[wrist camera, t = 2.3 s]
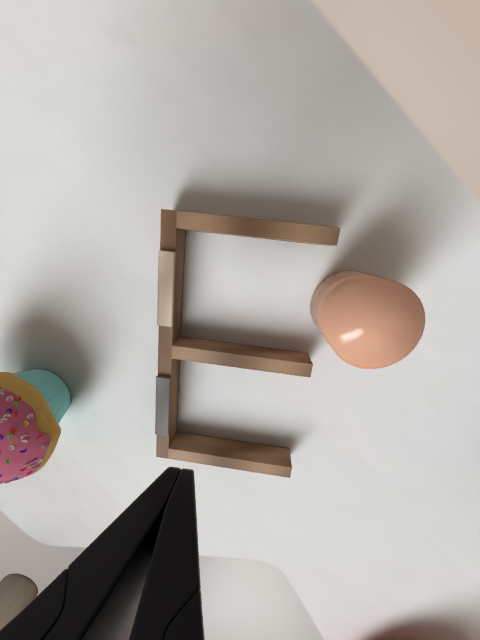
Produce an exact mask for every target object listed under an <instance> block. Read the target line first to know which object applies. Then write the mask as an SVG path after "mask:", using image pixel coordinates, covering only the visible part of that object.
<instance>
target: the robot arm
mask: <svg viewBox="0 0 480 640" xmlns="http://www.w3.org/2000/svg"><path fill="white" fill-rule="evenodd" d="M199 570H200V569H199V552H198V534H197V517H196V499H195V482H194V471H193V470H191V469H182V470H181V469H180V468H176V467H168V468H167V469H166V470H165V471H164V472H163V473H162V474H161V475H160V476H159V477H158V478H157V479H156V480H155V481H154V482H153V483H152V484H151V485H150V486H149V487H148V488H147V489H146V490H145V491H144V492H143V493H142V494H141V495H140V496H139V497H138V498H137V499H136V500H135V501H134V502H133V503H132V504H131V505H130V506H129V507H128V508H127V509H126V510H125V511H124V512H123V513H122V514H121V515H120V516H119V517H118V518H117V519H116V520H115V521H113V522H112V523H111V524H110V525H109V526H108V527H107V528H106V529H105V530H104V531H103V532H102V533H101V534H100V535H99V536H98V537H97V538H96V539H95V540H94V541H93V542H92V543H91V544H90V545H89V546H88V547H87V548H86V549H85V550H84V551H83V552H82V553H81V554H80V555H79V556H78V557H77V558H76V559H75V560H74V561H73V562H72V563H71V564H70V565H69V567H68V569H65V570H64V571H63V572H62V573H61V574H60V575H59V576H58V577H57V578H56V579H55V580H54V581H53V582H52V583H51V584H50V585H49V586H48V587H46V588H45V589H44V590H43V591H42V592H41V593H40V594H39V595H38V596H37V597H36V598H35V599H34V600H33V601H32V602H31V603H30V604H29V605H28V606H27V607H25V608H24V609H23V610H22V611H21V612H20V613H19V614H18V615H17V616H15V617H14V618H13V619H12V620H11V621H10V622H9V623H8V624H6V625H5V626H4V627H3V628H2V629H1V630H0V640H204V629H203V616H202V601H201V591H200V587H201V586H200V571H199Z"/></svg>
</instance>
